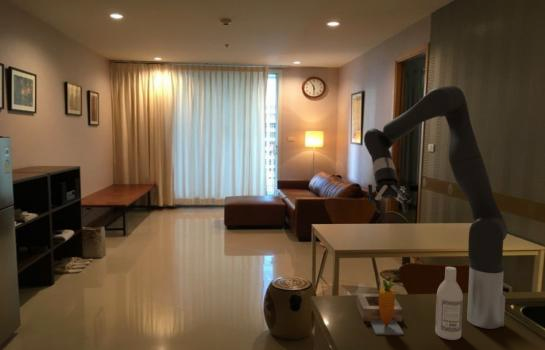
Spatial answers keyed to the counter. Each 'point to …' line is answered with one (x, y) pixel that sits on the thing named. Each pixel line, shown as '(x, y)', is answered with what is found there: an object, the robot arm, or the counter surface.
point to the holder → (375, 308)
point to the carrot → (386, 302)
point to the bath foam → (449, 307)
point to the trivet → (386, 328)
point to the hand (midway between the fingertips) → (392, 211)
